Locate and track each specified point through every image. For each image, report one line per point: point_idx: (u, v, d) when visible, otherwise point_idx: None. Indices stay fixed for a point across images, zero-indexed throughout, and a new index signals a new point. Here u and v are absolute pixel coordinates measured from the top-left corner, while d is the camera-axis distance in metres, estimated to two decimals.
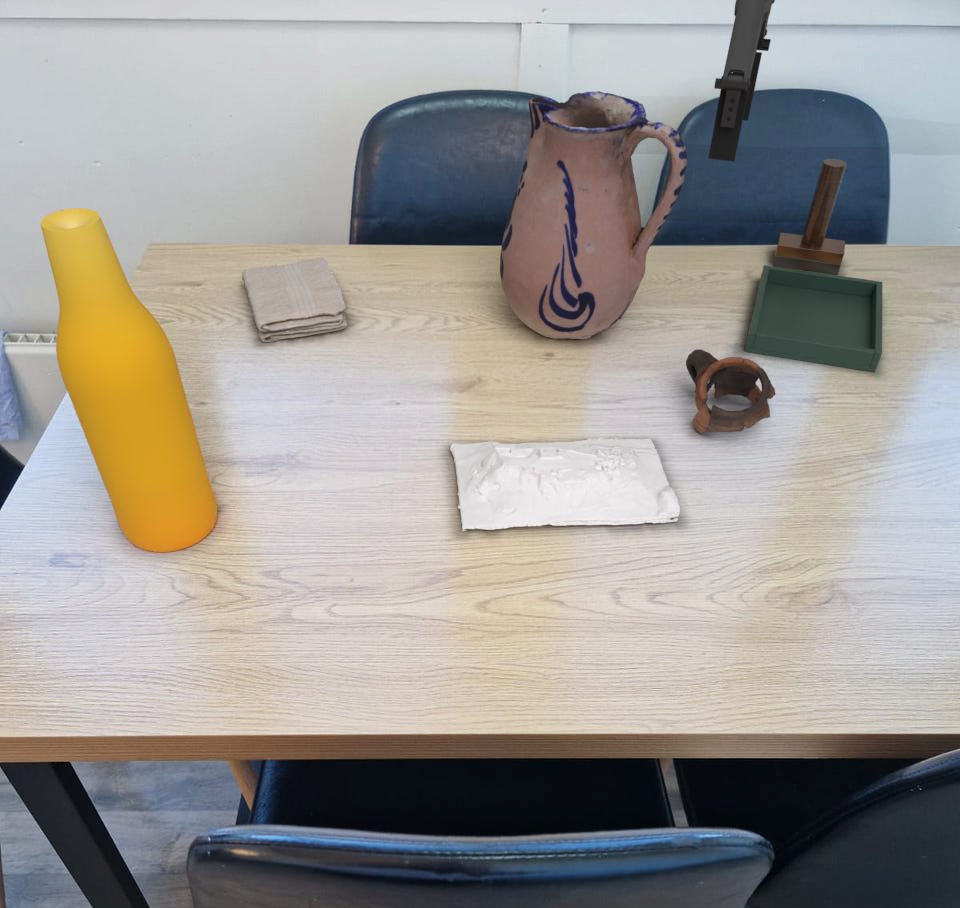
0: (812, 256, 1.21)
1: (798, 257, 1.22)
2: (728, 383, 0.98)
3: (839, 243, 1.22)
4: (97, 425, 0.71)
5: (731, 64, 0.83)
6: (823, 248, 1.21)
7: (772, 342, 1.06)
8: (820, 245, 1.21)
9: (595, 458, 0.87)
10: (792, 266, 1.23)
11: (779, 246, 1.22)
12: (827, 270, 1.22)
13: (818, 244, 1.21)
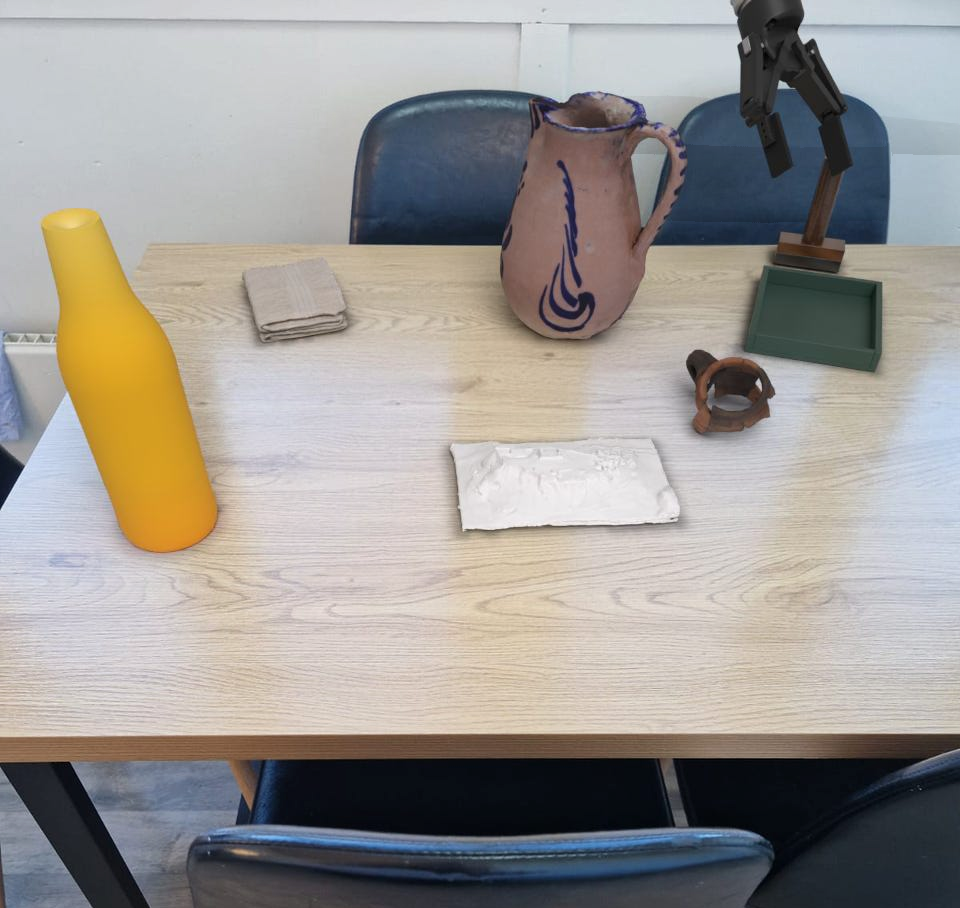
0: (813, 253, 1.21)
1: (799, 254, 1.22)
2: (728, 383, 0.98)
3: (839, 242, 1.22)
4: (97, 425, 0.71)
5: (743, 99, 1.04)
6: (824, 245, 1.21)
7: (772, 342, 1.06)
8: (821, 242, 1.21)
9: (595, 458, 0.87)
10: (793, 263, 1.23)
11: (780, 242, 1.21)
12: (828, 267, 1.22)
13: (819, 241, 1.21)
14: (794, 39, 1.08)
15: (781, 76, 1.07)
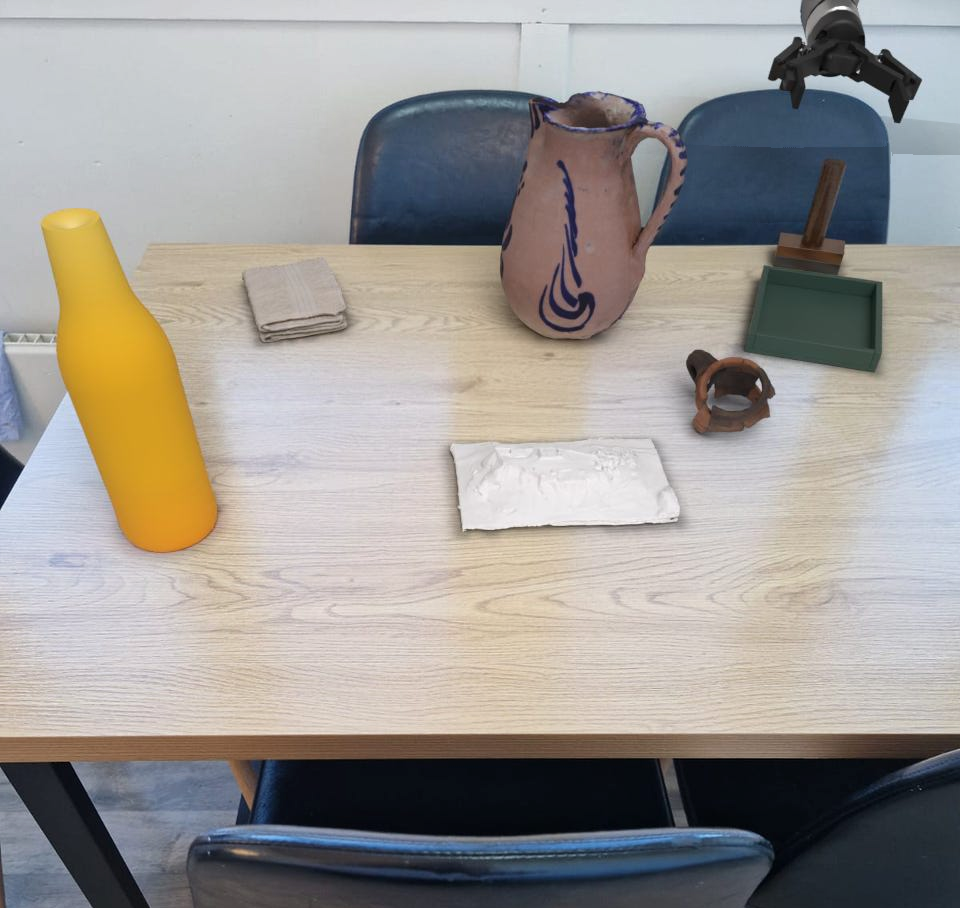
0: (812, 256, 1.21)
1: (798, 257, 1.22)
2: (728, 383, 0.98)
3: (839, 243, 1.22)
4: (97, 425, 0.71)
5: None
6: (823, 248, 1.21)
7: (772, 342, 1.06)
8: (820, 245, 1.21)
9: (595, 458, 0.87)
10: (792, 266, 1.23)
11: (779, 246, 1.22)
12: (827, 270, 1.22)
13: (818, 244, 1.21)
14: None
15: (832, 64, 1.20)
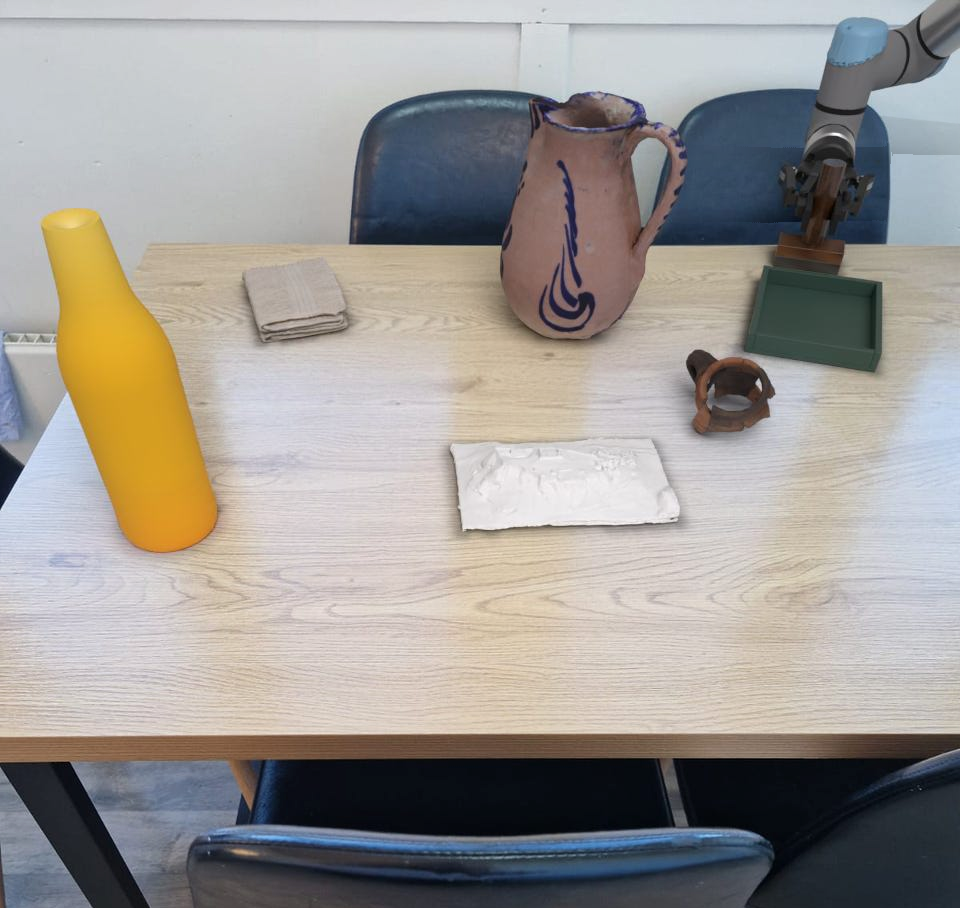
0: (812, 256, 1.21)
1: (798, 257, 1.22)
2: (728, 383, 0.98)
3: (839, 243, 1.22)
4: (97, 425, 0.71)
5: (783, 197, 1.22)
6: (823, 248, 1.21)
7: (772, 342, 1.06)
8: (820, 245, 1.21)
9: (595, 458, 0.87)
10: (792, 266, 1.23)
11: (779, 246, 1.22)
12: (827, 270, 1.22)
13: (818, 244, 1.21)
14: None
15: (816, 183, 1.24)
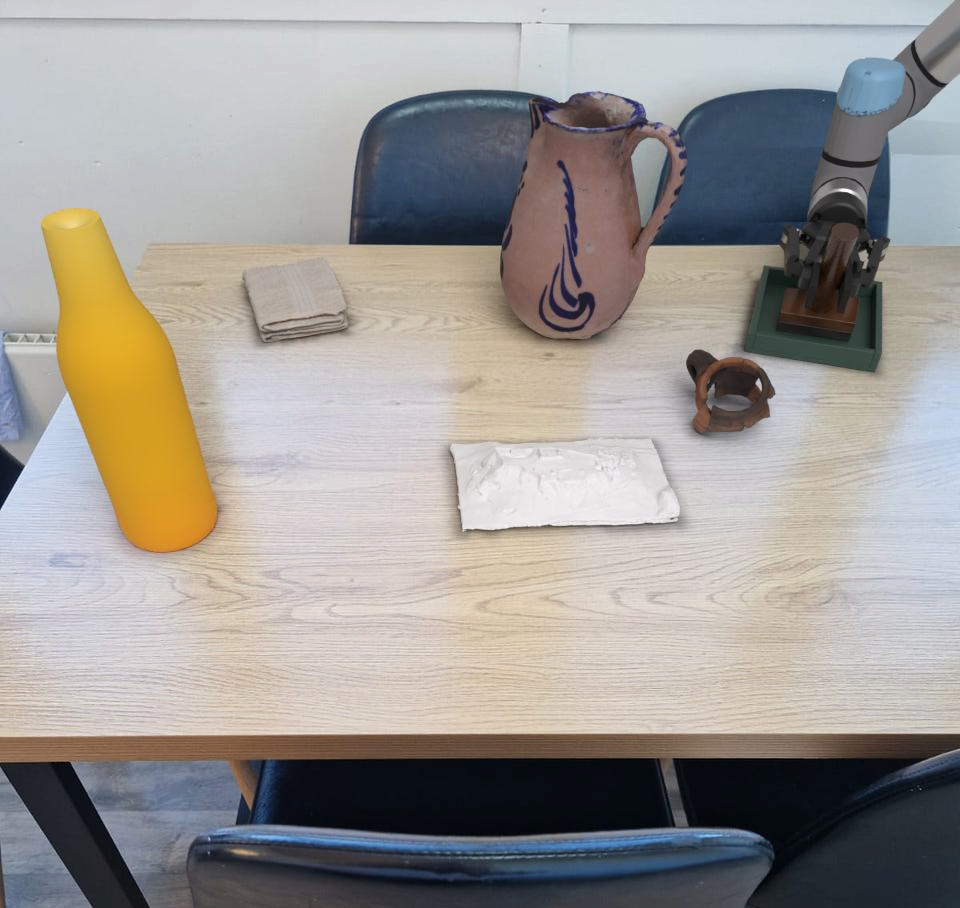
0: (819, 324, 1.07)
1: (804, 324, 1.08)
2: (728, 383, 0.98)
3: (852, 304, 1.07)
4: (97, 425, 0.71)
5: (785, 265, 1.07)
6: (832, 315, 1.07)
7: (772, 342, 1.06)
8: (829, 310, 1.07)
9: (595, 458, 0.87)
10: (797, 331, 1.09)
11: (782, 313, 1.08)
12: (836, 337, 1.08)
13: (827, 310, 1.06)
14: None
15: (823, 247, 1.09)
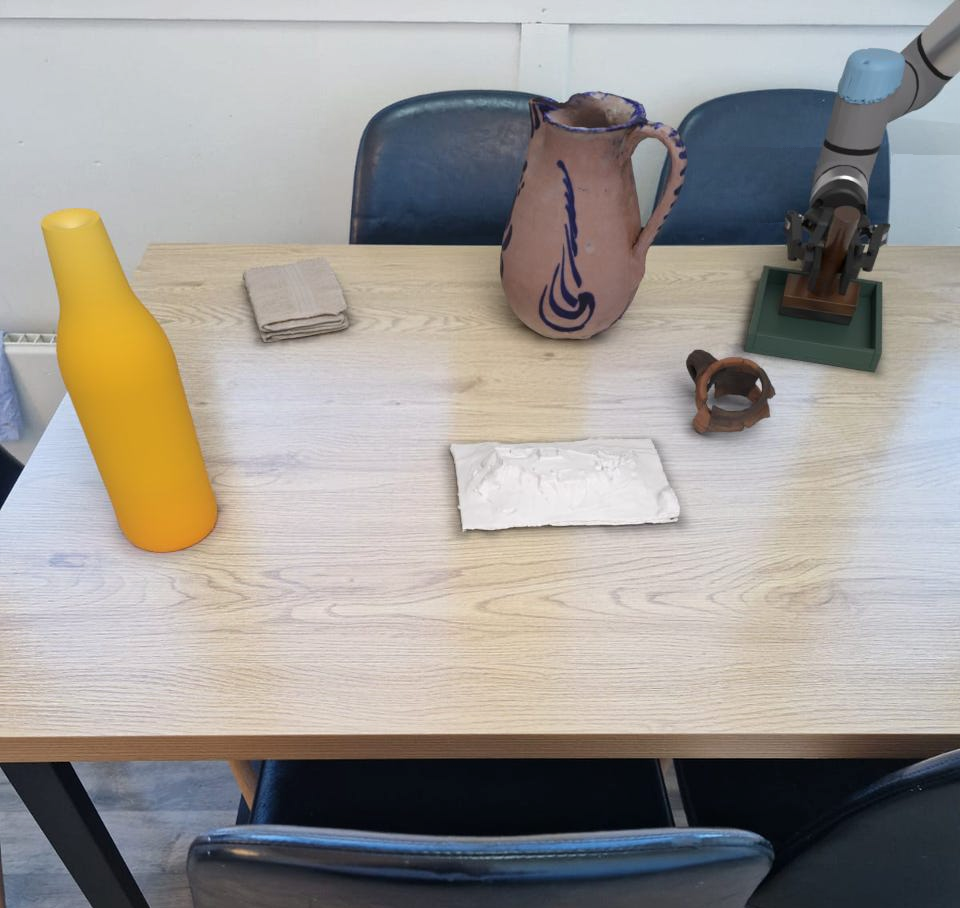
0: (821, 307, 1.10)
1: (806, 307, 1.11)
2: (728, 383, 0.98)
3: (853, 289, 1.10)
4: (97, 425, 0.71)
5: (788, 250, 1.10)
6: (833, 298, 1.09)
7: (772, 342, 1.06)
8: (831, 294, 1.09)
9: (595, 458, 0.87)
10: (799, 315, 1.12)
11: (785, 296, 1.10)
12: (838, 321, 1.11)
13: (828, 293, 1.09)
14: None
15: (825, 233, 1.12)
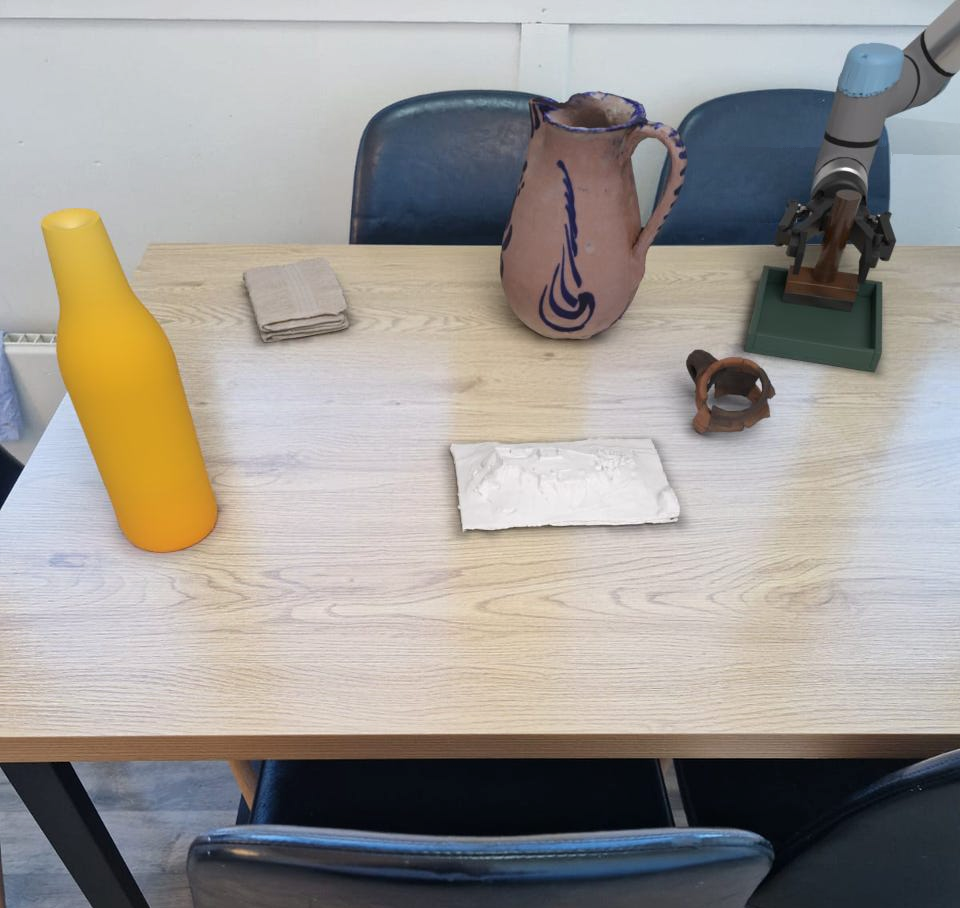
0: (823, 292, 1.13)
1: (808, 293, 1.13)
2: (728, 383, 0.98)
3: (853, 278, 1.13)
4: (97, 425, 0.71)
5: None
6: (835, 284, 1.12)
7: (772, 342, 1.06)
8: (832, 280, 1.13)
9: (595, 458, 0.87)
10: (802, 302, 1.14)
11: (788, 282, 1.13)
12: (840, 307, 1.13)
13: (830, 279, 1.12)
14: None
15: (826, 223, 1.15)
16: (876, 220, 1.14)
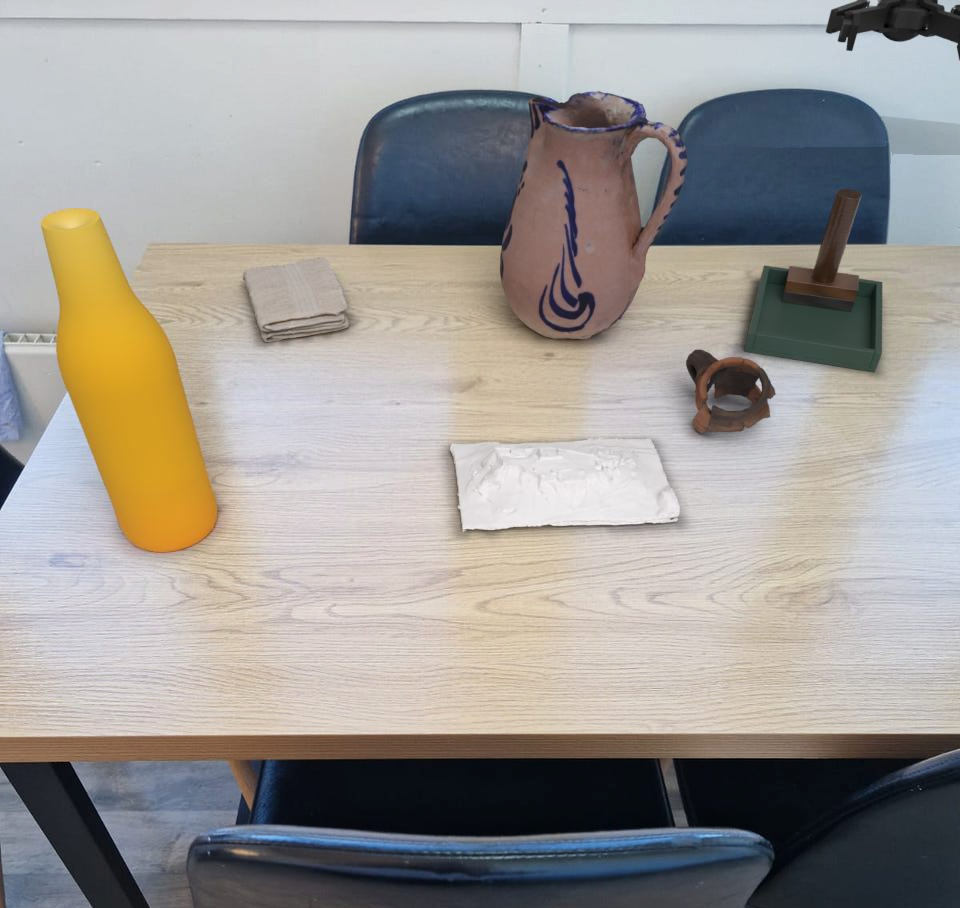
0: (823, 292, 1.13)
1: (808, 293, 1.13)
2: (728, 383, 0.98)
3: (852, 278, 1.13)
4: (97, 425, 0.71)
5: None
6: (835, 284, 1.12)
7: (772, 342, 1.06)
8: (832, 280, 1.13)
9: (595, 458, 0.87)
10: (802, 302, 1.15)
11: (788, 281, 1.13)
12: (840, 307, 1.13)
13: (830, 279, 1.12)
14: None
15: (898, 19, 1.16)
16: (952, 14, 1.15)
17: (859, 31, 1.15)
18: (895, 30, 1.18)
